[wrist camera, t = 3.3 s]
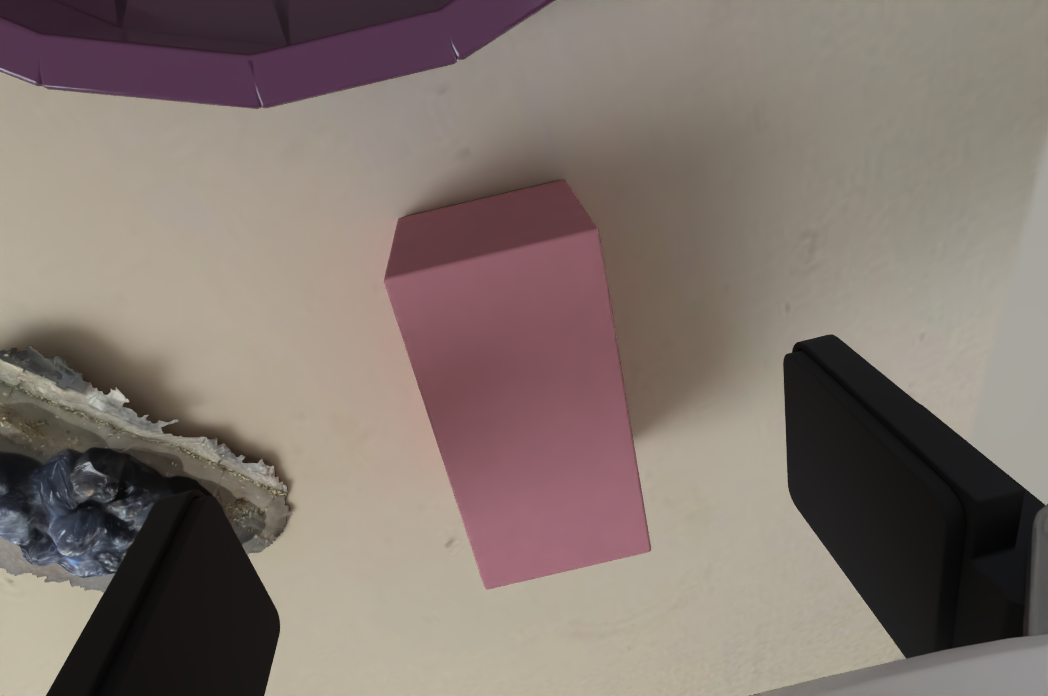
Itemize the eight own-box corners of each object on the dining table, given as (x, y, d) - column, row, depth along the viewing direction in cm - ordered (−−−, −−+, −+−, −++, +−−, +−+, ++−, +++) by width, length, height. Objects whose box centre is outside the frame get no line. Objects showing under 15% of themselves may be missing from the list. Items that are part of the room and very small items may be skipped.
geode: (-86, 306, 14) (-161, 349, 12) (319, 392, 15) (303, 440, 14) (-71, 556, 16) (-131, 619, 15) (272, 605, 18) (254, 666, 16)
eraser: (397, 217, 14) (382, 278, 11) (564, 178, 14) (599, 227, 11) (478, 484, 17) (485, 591, 14) (614, 452, 17) (652, 552, 14)
